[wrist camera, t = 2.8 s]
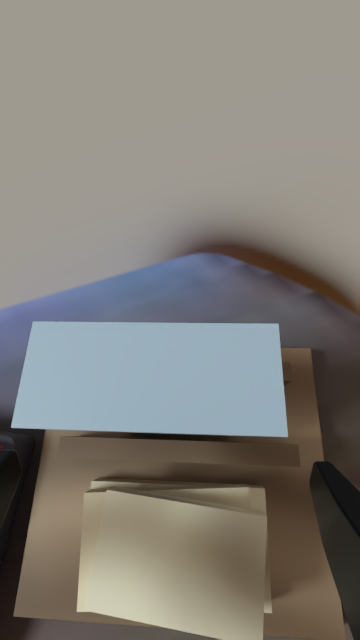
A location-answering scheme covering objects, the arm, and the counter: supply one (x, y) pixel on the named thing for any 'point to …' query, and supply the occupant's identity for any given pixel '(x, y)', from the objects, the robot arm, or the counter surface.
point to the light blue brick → (153, 379)
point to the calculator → (24, 450)
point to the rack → (191, 466)
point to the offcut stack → (177, 556)
